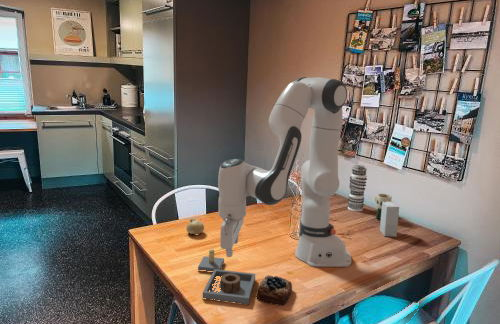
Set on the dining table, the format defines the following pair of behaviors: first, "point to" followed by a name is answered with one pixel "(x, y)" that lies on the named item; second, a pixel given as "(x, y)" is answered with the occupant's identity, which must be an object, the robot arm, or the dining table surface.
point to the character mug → (379, 200)
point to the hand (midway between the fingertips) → (232, 249)
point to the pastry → (274, 290)
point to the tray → (237, 297)
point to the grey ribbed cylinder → (357, 188)
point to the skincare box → (389, 219)
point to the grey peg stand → (211, 262)
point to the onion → (195, 226)
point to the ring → (230, 283)
